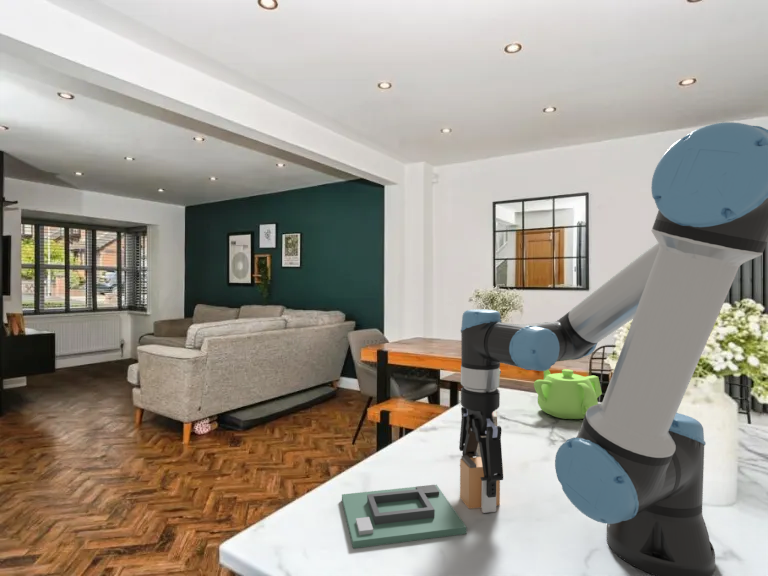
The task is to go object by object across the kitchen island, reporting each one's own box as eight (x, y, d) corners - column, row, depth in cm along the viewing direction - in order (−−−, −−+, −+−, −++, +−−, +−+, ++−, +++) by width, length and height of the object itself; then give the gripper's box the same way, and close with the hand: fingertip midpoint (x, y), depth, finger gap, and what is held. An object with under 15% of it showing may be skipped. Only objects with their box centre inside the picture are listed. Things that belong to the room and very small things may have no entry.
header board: (466, 533, 78) (466, 518, 77) (353, 548, 73) (353, 532, 73) (436, 490, 93) (436, 477, 93) (341, 500, 89) (341, 487, 89)
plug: (499, 505, 87) (500, 462, 87) (468, 508, 86) (469, 465, 86) (489, 494, 92) (489, 453, 91) (460, 497, 90) (460, 455, 90)
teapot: (594, 427, 132) (594, 379, 132) (526, 415, 143) (526, 371, 143) (602, 410, 148) (602, 368, 148) (540, 401, 159) (540, 361, 158)
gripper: (524, 401, 79) (523, 526, 79) (476, 374, 99) (475, 474, 100) (485, 403, 77) (484, 531, 78) (444, 376, 98) (443, 478, 98)
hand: (479, 499), depth 89 cm, fingers open, 8 cm apart
